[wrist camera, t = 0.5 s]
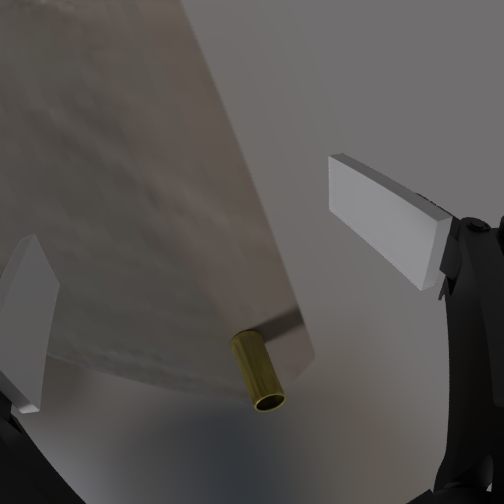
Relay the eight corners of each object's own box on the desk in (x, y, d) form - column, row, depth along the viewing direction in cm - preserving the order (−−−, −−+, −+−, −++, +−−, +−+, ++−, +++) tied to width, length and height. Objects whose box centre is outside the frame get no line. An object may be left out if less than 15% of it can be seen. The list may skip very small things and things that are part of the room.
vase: (264, 345, 61) (290, 404, 49) (234, 356, 60) (255, 417, 49) (258, 325, 57) (286, 387, 46) (226, 336, 57) (248, 401, 45)
